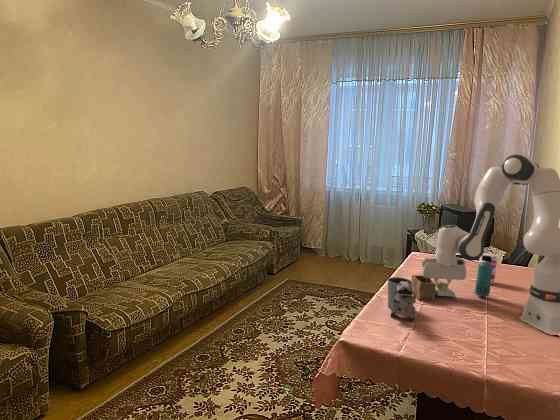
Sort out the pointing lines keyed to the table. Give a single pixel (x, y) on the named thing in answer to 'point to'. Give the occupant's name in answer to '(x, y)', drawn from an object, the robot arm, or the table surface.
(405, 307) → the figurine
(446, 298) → the mat
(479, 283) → the beverage bottle
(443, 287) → the lid
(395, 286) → the gray embossed pot
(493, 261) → the supplement can
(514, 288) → the table surface
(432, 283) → the box
